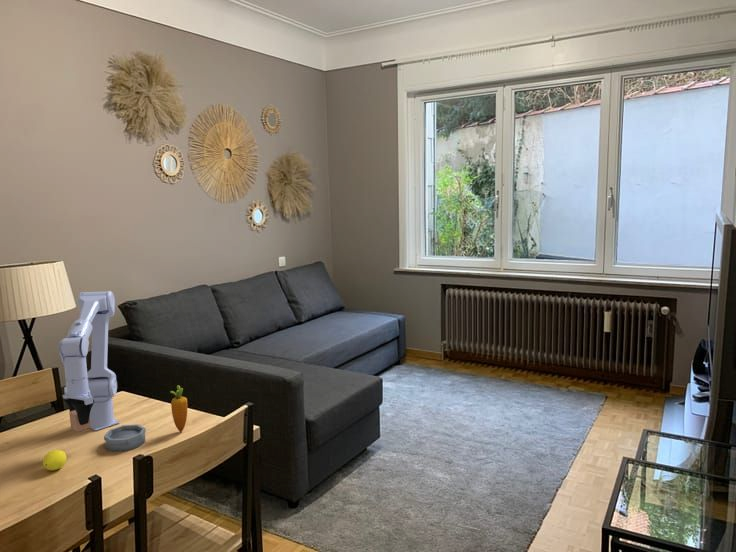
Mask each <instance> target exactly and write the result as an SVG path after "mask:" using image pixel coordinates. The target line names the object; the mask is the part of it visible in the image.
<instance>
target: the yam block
mask: <svg viewBox="0 0 736 552" xmlns="http://www.w3.org/2000/svg"><path fill="white" fill-rule="evenodd" d="M69 421H70V422H69V423H70V429H72V430H74V431H75V432H79V431H80V432H81V431H83V430H85V429H88V428H90V427H91V422H90V416H89V422H88V423H87V424H84V425H80V423H79V420H78V416H77V413H76V410H74V411H69Z"/></svg>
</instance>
